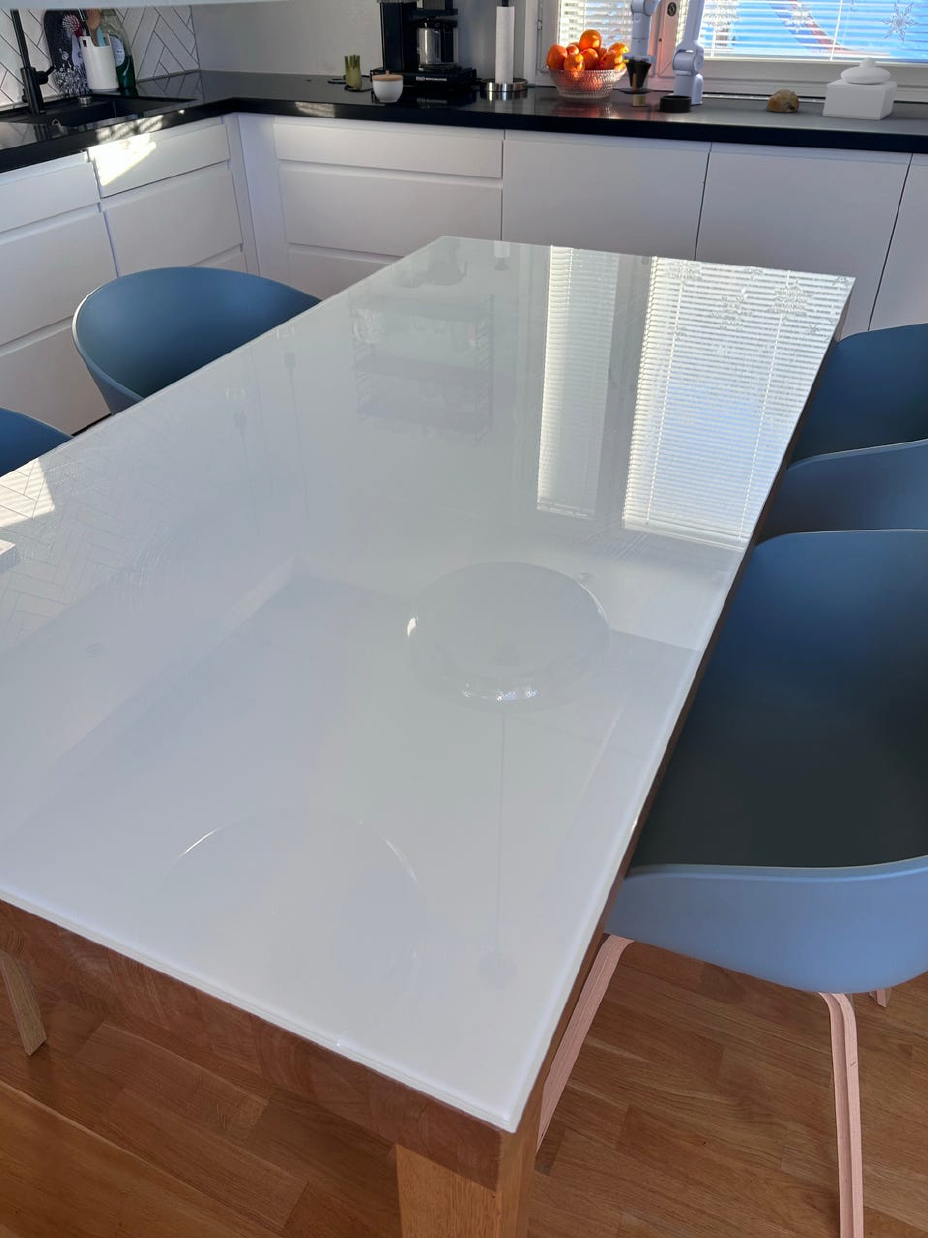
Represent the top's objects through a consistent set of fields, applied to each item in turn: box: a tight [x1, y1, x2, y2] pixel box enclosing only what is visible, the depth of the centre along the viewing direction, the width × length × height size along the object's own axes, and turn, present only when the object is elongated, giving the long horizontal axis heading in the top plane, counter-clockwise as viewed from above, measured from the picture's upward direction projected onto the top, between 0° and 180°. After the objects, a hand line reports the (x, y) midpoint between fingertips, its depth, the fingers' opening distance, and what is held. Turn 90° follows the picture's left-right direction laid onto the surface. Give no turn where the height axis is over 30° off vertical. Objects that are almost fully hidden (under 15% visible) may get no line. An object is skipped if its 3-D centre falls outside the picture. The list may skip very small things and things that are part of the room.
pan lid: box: [618, 73, 654, 96], centre depth 309 cm, size 11×11×6 cm
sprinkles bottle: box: [632, 70, 650, 108], centre depth 319 cm, size 5×5×13 cm
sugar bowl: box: [371, 70, 404, 103], centre depth 333 cm, size 11×11×9 cm
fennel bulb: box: [344, 53, 363, 91], centre depth 358 cm, size 6×5×12 cm
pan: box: [658, 94, 692, 114], centre depth 312 cm, size 10×10×4 cm
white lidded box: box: [821, 56, 899, 121], centre depth 300 cm, size 18×18×16 cm
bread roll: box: [765, 89, 800, 114], centre depth 310 cm, size 10×10×8 cm
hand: (636, 86), depth 310 cm, fingers closed on pan lid, 2 cm apart
